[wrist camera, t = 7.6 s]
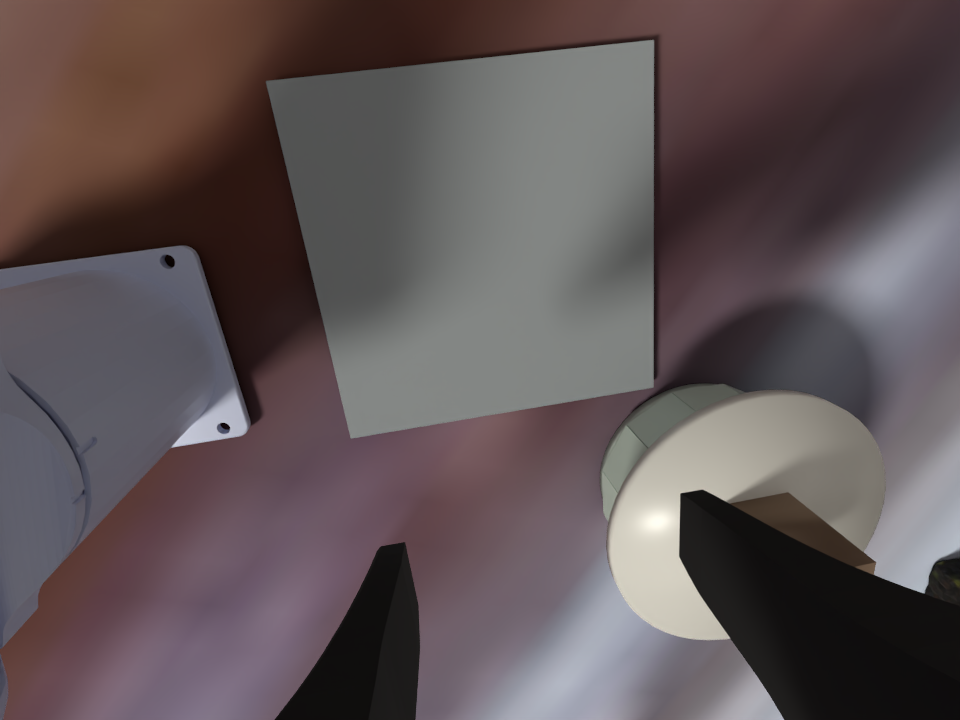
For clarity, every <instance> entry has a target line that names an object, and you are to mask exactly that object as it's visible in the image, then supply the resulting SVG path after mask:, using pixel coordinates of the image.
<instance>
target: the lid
mask: <svg viewBox="0 0 960 720" xmlns="http://www.w3.org/2000/svg"><path fill="white" fill-rule="evenodd" d="M885 488H886V485H885V469H884V463H883V458H882V455H881V453H880V450H879V447H878V445H877V443H876V441H875V440H874V438H873V436H872V435H871V433H870V431H869V430H868V429H867V428H866V427H865V426H864V425H863V424H862V422H861V421H860V420H858V419H857V418H856V417H854V416H853V415H852V414H851V413H849V412H848V411H846V410H844V409H842V408H840V407H838V406H837V405H835V404H833V403H831V402H829V401H827V400H825V399H823V398H820V397H817V396H814V395H811V394H808V393H804V392H798V391H792V390H762V391H753V392H748V393H744V394H739V395H735V396H731V397H729V398H726V399H723V400H720V401H717V402H715V403H712V404H710V405H708V406H706V407H704V408H702V409H700V410H698V411H696V412H694V413H693V414H691V415H689V416H688V417H686V418H685V419H683V420H681V421H680V422H678V423H677V424H675V425H674V426H673V427H672V428H670V429H669V430H668V431H667V432H665V433H664V434H663V435H662V436H660V437H659V438H658V439H657V440H656V441H655V442H654V443H653V444H652V445H651V446H650V447H649V448H648V449H647V450H646V451H645V453H644V454H643V455H642V456H641V457H640V459H639V460H638V461H637V462H636V464H635V465H634V466H633V468H632V469H631V471H630V472H629V474H628V475H627V477H626V479H625V480H624V482H623V484H622V486H621V488H620V490H619V492H618V494H617V496H616V498H615V501H614V504H613V507H612V510H611V513H610V517H609V522H608V528H607V540H606V549H607V557H608V563H609V566H610V570H611V573H612V576H613V578H614V580H615V582H616V584H617V586H618V588H619V590H620V592H621V594H622V596H623V598H624V599H625V600H626V602H627V603H628V605H629V606H630V607H631V609H632V610H633V611H634V612H635V613H636V614H637V615H639V616H640V617H641V618H642V619H643V620H645V621H646V622H647V623H649V624H650V625H652V626H653V627H655V628H658V629H660V630H662V631H664V632H666V633H669V634H672V635H676V636H679V637H684V638H690V639H697V640H721V639H730V637H729V636H728V634H727V633H726V632H725V630H724V629H723V627H722V626H721V625H720V623H719V622H718V620H717V619H716V617H715V616H714V615H713V613H712V612H711V610H710V609H709V607H708V606H707V605H706V603H705V602H704V600H703V599H702V597H701V596H700V594H699V593H698V591H697V589H696V587H695V586H694V584H693V582H692V580H691V578H690V577H689V575H688V573H687V571H686V569H685V567H684V565H683V563H682V561H681V559H680V558H679V533H680V493H686V492H691V491H697V490H705V491H707V492H709V493H711V494H713V495H715V496H717V497H718V498H720V499H722V500H724V501H726V502H728V503H729V504H731V505H733V506H735V507H737V508H738V509H740V510H742V511H744V512H746V513H747V514H749V515H751V516H753V517H755V518H756V519H758V520H760V521H762V522H764V523H766V524H767V525H769V526H771V527H773V528H775V529H777V530H779V531H780V532H782V533H784V534H786V535H788V536H790V537H792V538H794V539H796V540H798V541H800V542H802V543H804V544H806V545H808V546H810V547H812V548H814V549H816V550H818V551H820V552H822V553H825V554H827V555H829V556H831V557H833V558H835V559H837V560H840V561H842V562H844V563H846V564H849V565H851V566H853V567H856V568H858V569H861V570H863V571H865V572H868V573H870V574H873V575H874V570H875V565H876V562H875V561H874V560H872V559H871V558H870V557H869V556H867V555H866V554H865V553H864V550H865V549H866V547H867V545H868V543H869V541H870V540H871V538H872V536H873V534H874V531H875V529H876V526H877V524H878V521H879V519H880V515H881V511H882V508H883V504H884V496H885Z"/></svg>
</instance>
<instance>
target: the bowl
mask: <svg viewBox="0 0 960 720" xmlns="http://www.w3.org/2000/svg"><path fill="white" fill-rule="evenodd" d="M744 393H746V392H743V391H741V390H738V389H736V388H733V387H731V386H728V385H726V384H711V383H698V384H688V385H684V386H680V387H676V388H673V389H670V390H667V391H665V392H663V393H661V394H659V395H657V396H655V397H653V398H651V399H650V400H648V401H646V402H645V403H643V404H642V405H641V406H640V407H638V408H637V409H636V410H635V411H633V412H632V413H631V414H630V415H629V416H628V417H627V418H626V419H625V420H624V421H623V423H622V424H621V425H620V426H619V428H618V429H617V430H616V432H615V433H614V435H613V437H612V438H611V440H610V442H609V444H608V446H607V448H606V450H605V453H604V457H603V460H602V464H601V470H600V489H601V495H602V498H603V513H604V515H605V517H606V519H607V520H608V522H609V517H610V513H611V510H612V507H613V504H614V501H615V498H616V496H617V494H618V492H619V490H620V488H621V486H622V484H623V482H624V480H625V479H626V477H627V475H628V474H629V472H630V471H631V469H632V468H633V466H634V465H635V464H636V462H637V461H638V460H639V459H640V457H641V456H642V455H643V454H644V453H645V451H646V450H647V449H648V448H649V447H650V446H651V445H652V444H653V443H654V442H655V441H656V440H657V439H658V438H659V437H660V436H662V435H663V434H664V433H665V432H667V431H668V430H669V429H670V428H672V427H673V426H674V425H675V424H677V423H678V422H680V421H681V420H683V419H685V418H686V417H688V416H689V415H691V414H693V413H694V412H696V411H698V410H700V409H702V408H704V407H706V406H708V405H710V404H712V403H715V402H717V401H720V400H723V399H726V398H729V397H731V396H735V395H739V394H744Z"/></svg>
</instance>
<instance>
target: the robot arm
mask: <svg viewBox="0 0 960 720" xmlns="http://www.w3.org/2000/svg"><path fill="white" fill-rule="evenodd" d="M166 255H170V256H172V257H173V258H174V260H175V266H174V267H170V266H168V265H167V264H166V262H165V256H166ZM220 423H226V424H228V425H229V427H230V429H229V430H225V429H223V428H222V427H221V425H220ZM250 425H251V422H250V418H249V415H248V412H247V408H246V405H245V402H244V399H243V396H242V392H241V389H240V386H239V383H238V380H237V376H236V373H235V370H234V367H233V364H232V360H231V357H230V354H229V351H228V348H227V344H226V341H225V338H224V335H223V332H222V329H221V325H220V322H219V319H218V316H217V313H216V309H215V306H214V303H213V300H212V297H211V293H210V290H209V287H208V284H207V281H206V277H205V274H204V271H203V268H202V265H201V261H200V258H199V256H198V254H197V252H196V251H195V250H194V249H193V248H191V247H189V246H184V245H180V246H172V247H165V248H157V249H149V250H142V251H134V252H127V253H119V254H111V255H104V256H96V257H89V258H81V259H74V260H66V261H58V262H51V263H43V264H36V265H28V266H20V267H13V268H5V269H0V649H1V648H2V647H3V646H4V645H5V644H6V643H7V642H8V641H9V640H10V638H11V637H12V636H13V635H14V634H15V633H16V632H17V631H18V629H19V628H20V627H21V626H22V625H23V624H24V623H25V622H26V621H27V619H28V618H29V617H30V616H31V615H32V614H33V613H34V612H35V611H36V609H37V608H38V593H39V590H40V587H41V586H42V584H43V583H44V581H45V580H46V579H47V578H48V577H49V576H50V575H51V574H52V573H53V572H54V571H55V570H56V569H57V568H58V567H59V565H60V564H61V563H62V562H63V561H64V560H65V559H66V558H67V557H68V556H69V555H70V554H71V553H72V552H73V551H74V550H75V548H76V547H77V546H78V545H79V544H80V543H81V542H82V541H83V540H84V539H85V538H86V537H87V536H88V535H89V534H90V533H91V532H92V530H93V529H94V528H95V527H96V526H97V525H98V524H99V523H100V522H101V521H102V520H103V519H104V518H105V517H106V516H107V515H108V514H109V512H110V511H111V510H112V509H113V508H114V507H115V506H116V505H117V504H118V503H119V502H120V501H121V500H122V499H123V498H124V497H125V495H126V494H127V493H128V492H129V491H130V490H131V489H132V488H133V487H134V486H135V485H136V484H137V483H138V482H139V481H140V480H141V479H142V477H143V476H144V475H145V474H146V473H147V472H148V471H149V470H150V469H151V468H152V467H153V466H154V465H155V464H156V463H157V462H158V461H159V459H160V458H161V457H162V456H163V455H164V454H165V453H166V452H167V451H168V450H169V449H170V448H172V447H178V446H184V445H190V444H196V443H202V442H208V441H214V440H220V439H226V438H232V437H238V436H242V435H244V434H245V433H246V432H247V431H248V430H249V428H250ZM679 558H680V559H681V561H682V563H683V565H684V567H685V569H686V571H687V573H688V575H689V577H690V578H691V580H692V582H693V584H694V586H695V587H696V589H697V591H698V593H699V594H700V596H701V597H702V599H703V600H704V602H705V603H706V605H707V606H708V607H709V609H710V610H711V612H712V613H713V615H714V616H715V617H716V619H717V620H718V622H719V623H720V625H721V626H722V627H723V629H724V630H725V632H726V633H727V634H728V636H729V637H730V639H731V640H732V641H733V643H734V644H735V646H736V647H737V648H738V650H739V651H740V653H741V654H742V655H743V657H744V658H745V660H746V661H747V662H748V664H749V665H750V667H751V668H752V670H753V671H754V672H755V674H756V675H757V677H758V678H759V680H760V681H761V683H762V684H763V686H764V687H765V689H766V690H767V692H768V693H769V695H770V696H771V698H772V700H773V701H774V703H775V705H776V706H777V708H778V710H779V711H780V713H781V715H782V717H783V718H784V720H960V606H959V605H956V604H952V603H949V602H946V601H943V600H940V599H937V598H935V597H932V596H929V595H926V594H923V593H920V592H917V591H914V590H912V589H909V588H906V587H903V586H901V585H898V584H895V583H893V582H890V581H887V580H885V579H882V578H880V577H877V576H875V575H873V574H870V573H868V572H865V571H863V570H861V569H858V568H856V567H853V566H851V565H849V564H846V563H844V562H842V561H840V560H837V559H835V558H833V557H831V556H829V555H827V554H825V553H822V552H820V551H818V550H816V549H814V548H812V547H810V546H808V545H806V544H804V543H802V542H800V541H798V540H796V539H794V538H792V537H790V536H788V535H786V534H784V533H782V532H780V531H779V530H777V529H775V528H773V527H771V526H769V525H767V524H766V523H764V522H762V521H760V520H758V519H756V518H755V517H753V516H751V515H749V514H747V513H746V512H744V511H742V510H740V509H738V508H737V507H735V506H733V505H731V504H729V503H728V502H726V501H724V500H722V499H720V498H718V497H717V496H715V495H713V494H711V493H709V492H707V491H705V490H697V491H691V492H686V493H680V533H679ZM419 655H420V634H419V610H418V601H417V597H416V592H415V587H414V582H413V578H412V573H411V568H410V564H409V559H408V554H407V549H406V545H405V542H403V543H398V544H392V545H386V546H381V547H380V548H379V549H378V551H377V552H376V555H375V557H374V560H373V562H372V564H371V566H370V569H369V571H368V573H367V575H366V577H365V579H364V581H363V583H362V585H361V587H360V589H359V591H358V593H357V595H356V597H355V599H354V601H353V603H352V604H351V606H350V608H349V610H348V612H347V614H346V616H345V617H344V619H343V621H342V623H341V624H340V626H339V628H338V629H337V631H336V633H335V634H334V636H333V638H332V639H331V641H330V643H329V644H328V646H327V647H326V649H325V651H324V652H323V654H322V655H321V657H320V658H319V660H318V661H317V663H316V664H315V666H314V667H313V669H312V670H311V672H310V673H309V675H308V676H307V678H306V679H305V680H304V682H303V683H302V685H301V686H300V687H299V689H298V690H297V691H296V693H295V694H294V695H293V697H292V698H291V699H290V701H289V702H288V703H287V704H286V706H285V707H284V708H283V710H282V711H281V712H280V713H279V715H278V716H277V717H276V719H275V720H415V717H416V702H417V687H418V671H419ZM7 699H8V679H7V675H6V672H5V668H4V665H3V662H2V658H1V655H0V720H3V717H4V712H5V708H6V703H7Z"/></svg>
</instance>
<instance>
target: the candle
mask: <svg viewBox="0 0 960 720" xmlns="http://www.w3.org/2000/svg"><path fill="white" fill-rule="evenodd" d="M925 594H926V595H929V596H932V597H935V598H937V599H940V600H943V601H946V602H949V603H952V604H956V605H959V606H960V559H954V560H946V561H941V562H939V563H936V565H935V566H934V568H933V571H932V573H931V575H930V577H929V585H928V588H927V590H926V593H925Z"/></svg>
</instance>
